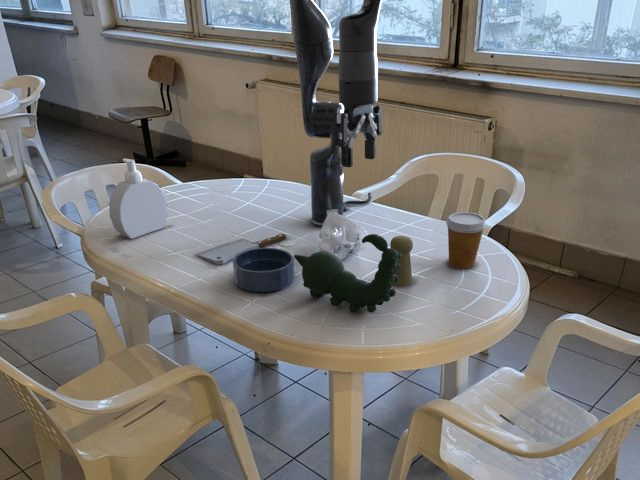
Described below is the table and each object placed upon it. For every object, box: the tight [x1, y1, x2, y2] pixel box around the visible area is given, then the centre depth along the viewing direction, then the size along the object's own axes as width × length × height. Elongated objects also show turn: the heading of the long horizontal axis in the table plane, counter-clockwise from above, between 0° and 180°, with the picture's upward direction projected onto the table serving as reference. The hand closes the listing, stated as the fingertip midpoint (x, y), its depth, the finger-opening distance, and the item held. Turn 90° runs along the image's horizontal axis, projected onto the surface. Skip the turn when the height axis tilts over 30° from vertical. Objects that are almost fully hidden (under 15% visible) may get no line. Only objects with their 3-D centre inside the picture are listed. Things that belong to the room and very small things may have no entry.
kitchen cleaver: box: [196, 233, 287, 265], centre depth 164 cm, size 24×1×10 cm
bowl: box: [232, 247, 296, 293], centre depth 146 cm, size 14×14×6 cm
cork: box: [389, 235, 414, 288], centre depth 144 cm, size 6×6×11 cm
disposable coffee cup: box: [445, 211, 487, 270], centre depth 152 cm, size 10×10×12 cm
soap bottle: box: [108, 158, 169, 240], centre depth 170 cm, size 16×5×20 cm, turn 141°
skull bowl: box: [317, 212, 369, 261], centre depth 160 cm, size 10×14×12 cm
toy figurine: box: [293, 233, 401, 314], centre depth 133 cm, size 9×19×25 cm
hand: (358, 162), depth 127 cm, fingers open, 8 cm apart
